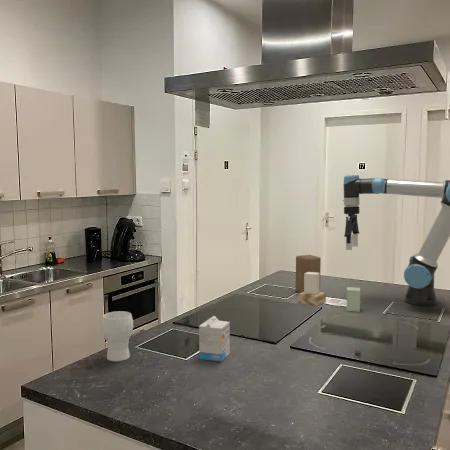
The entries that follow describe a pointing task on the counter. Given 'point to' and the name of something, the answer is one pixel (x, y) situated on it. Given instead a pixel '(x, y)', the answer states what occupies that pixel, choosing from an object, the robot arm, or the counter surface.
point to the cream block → (311, 283)
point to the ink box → (214, 340)
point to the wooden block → (306, 269)
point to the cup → (117, 334)
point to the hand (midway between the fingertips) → (352, 248)
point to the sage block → (353, 299)
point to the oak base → (312, 298)
